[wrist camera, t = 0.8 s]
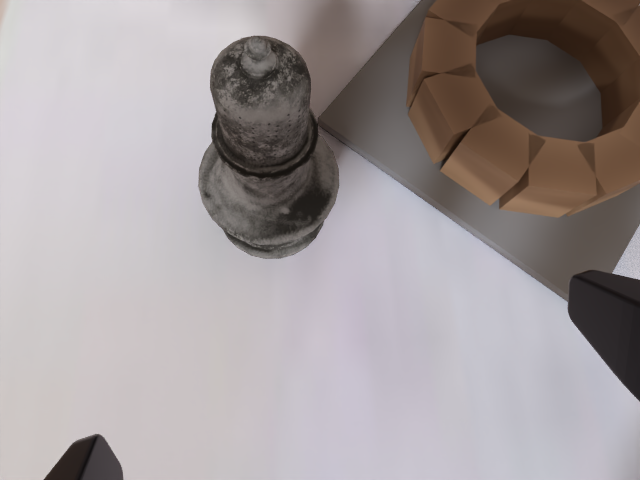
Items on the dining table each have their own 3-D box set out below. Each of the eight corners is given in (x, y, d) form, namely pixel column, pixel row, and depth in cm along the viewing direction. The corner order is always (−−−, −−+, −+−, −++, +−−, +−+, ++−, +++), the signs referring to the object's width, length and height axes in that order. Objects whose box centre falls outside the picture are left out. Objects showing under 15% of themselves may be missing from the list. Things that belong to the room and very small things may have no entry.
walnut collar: (711, 88, 27) (773, 45, 23) (582, 312, 23) (635, 300, 19) (475, -57, 29) (501, -117, 25) (317, 124, 25) (322, 83, 21)
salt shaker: (221, 145, 24) (160, -71, 12) (337, 159, 24) (381, -41, 13) (201, 257, 22) (109, 128, 11) (326, 271, 22) (365, 159, 11)
